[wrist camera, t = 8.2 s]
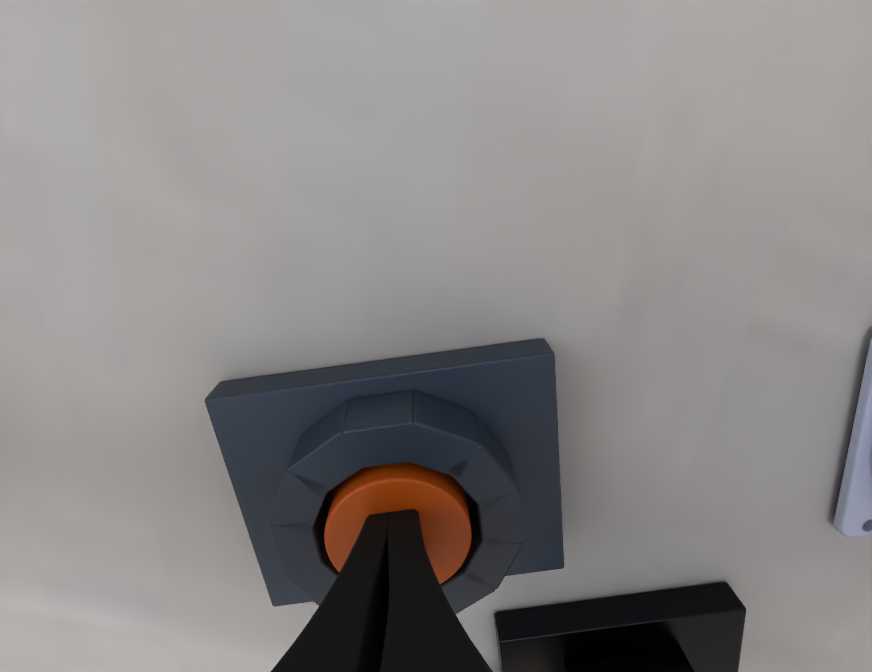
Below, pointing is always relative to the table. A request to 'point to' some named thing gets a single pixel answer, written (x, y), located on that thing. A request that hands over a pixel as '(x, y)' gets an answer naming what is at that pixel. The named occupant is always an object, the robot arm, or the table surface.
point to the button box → (398, 457)
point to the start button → (401, 491)
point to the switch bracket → (627, 633)
